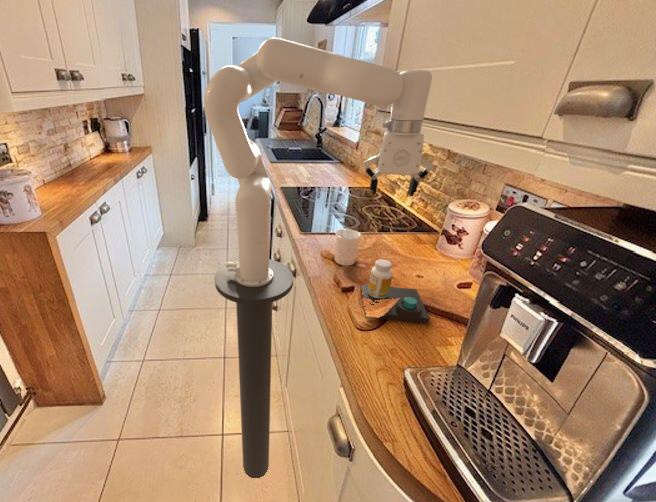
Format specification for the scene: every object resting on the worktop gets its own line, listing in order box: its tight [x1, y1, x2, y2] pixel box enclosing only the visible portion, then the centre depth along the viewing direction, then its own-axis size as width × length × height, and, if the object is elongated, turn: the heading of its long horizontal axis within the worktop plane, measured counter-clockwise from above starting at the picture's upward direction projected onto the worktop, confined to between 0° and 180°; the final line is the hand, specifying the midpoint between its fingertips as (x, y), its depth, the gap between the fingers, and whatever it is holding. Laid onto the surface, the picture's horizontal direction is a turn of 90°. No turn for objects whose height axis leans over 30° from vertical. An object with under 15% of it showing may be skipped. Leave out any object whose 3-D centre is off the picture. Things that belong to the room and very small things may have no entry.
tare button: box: [403, 297, 417, 309], centre depth 82 cm, size 3×3×2 cm
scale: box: [360, 284, 430, 325], centre depth 87 cm, size 15×14×4 cm
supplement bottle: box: [367, 258, 393, 298], centre depth 87 cm, size 5×5×10 cm
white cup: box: [333, 228, 362, 266], centre depth 107 cm, size 8×8×10 cm
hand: (391, 193), depth 89 cm, fingers open, 9 cm apart
